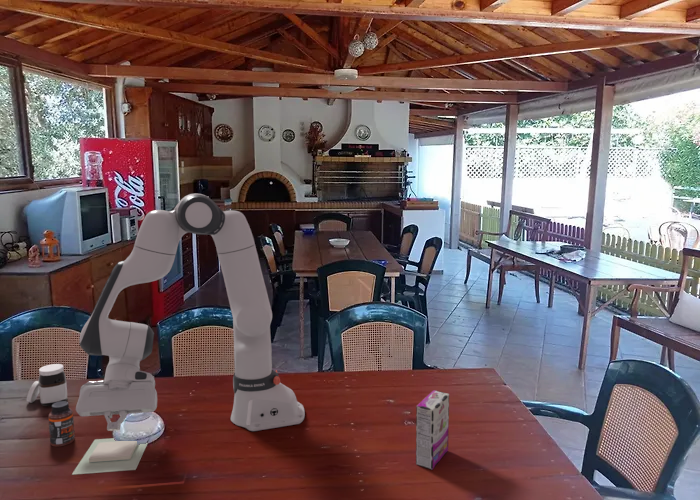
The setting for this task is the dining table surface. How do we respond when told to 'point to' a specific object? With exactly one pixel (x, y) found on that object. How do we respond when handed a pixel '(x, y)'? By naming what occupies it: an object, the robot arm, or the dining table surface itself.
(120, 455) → the tile
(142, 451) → the mat
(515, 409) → the dining table surface
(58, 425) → the supplement bottle
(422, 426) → the candy bar box
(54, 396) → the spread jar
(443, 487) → the dining table surface
